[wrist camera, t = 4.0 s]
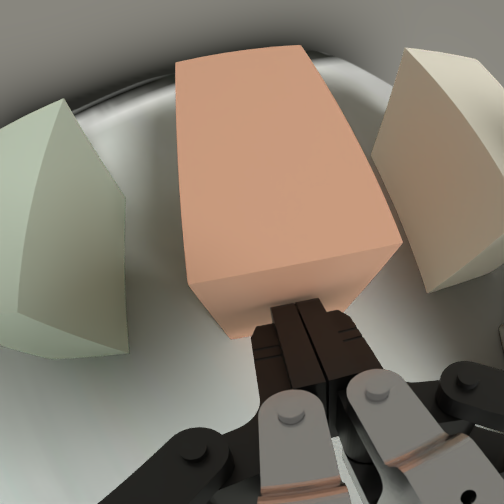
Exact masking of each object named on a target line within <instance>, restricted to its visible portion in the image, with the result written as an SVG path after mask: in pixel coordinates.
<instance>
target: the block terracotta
mask: <svg viewBox="0 0 504 504" xmlns="http://www.w3.org/2000/svg"><path fill="white" fill-rule="evenodd" d="M176 129H177V154H178V173H179V190H180V204H181V218H182V230H183V241H184V252H185V262H186V272H187V281H188V285H189V287H190V288H191V289H192V291H193V292H194V293H195V295H196V296H197V297H198V298H199V300H200V301H201V302H202V304H203V305H204V306H205V308H206V309H207V310H208V311H209V313H210V314H211V315H212V316H213V318H214V319H215V320H216V322H217V323H218V324H219V325H220V327H221V328H222V329H223V330H224V332H225V333H226V334H227V335H228V337H229V338H230V339H237V338H242V337H248V336H252V334H253V332H254V330H255V328H256V326H261V325H266V324H272V318H271V311H270V307H274V306H280V305H285V304H290V303H294V304H295V302H299V301H304V300H309V299H314V298H319V299H320V301H321V303H322V304H323V306H324V308H325V310H326V311H327V312H329V311H333V310H339V311H341V312H344V311H345V310H346V308H347V307H348V306H349V305H350V304H351V303H352V302H353V301H354V300H355V299H356V297H357V296H358V295H359V294H360V293H361V292H362V291H363V290H364V289H365V287H366V286H367V285H368V284H369V283H370V282H371V281H372V279H373V278H374V277H375V276H376V275H377V274H378V272H379V271H380V270H381V269H382V268H383V266H384V265H385V264H386V263H387V262H388V260H389V259H390V258H391V257H392V256H393V254H394V253H395V252H396V251H397V250H398V248H399V247H400V246H401V245H402V243H403V241H402V238H401V236H400V233H399V231H398V228H397V226H396V223H395V221H394V218H393V216H392V213H391V211H390V209H389V206H388V204H387V202H386V199H385V197H384V195H383V193H382V190H381V188H380V186H379V184H378V182H377V179H376V177H375V175H374V173H373V171H372V169H371V167H370V165H369V162H368V160H367V158H366V156H365V154H364V152H363V150H362V148H361V146H360V144H359V142H358V141H357V139H356V137H355V135H354V133H353V131H352V129H351V127H350V125H349V124H348V122H347V120H346V118H345V116H344V114H343V113H342V111H341V109H340V107H339V106H338V104H337V102H336V100H335V99H334V97H333V95H332V94H331V92H330V90H329V89H328V87H327V85H326V84H325V82H324V80H323V79H322V77H321V75H320V74H319V72H318V71H317V69H316V68H315V66H314V64H313V63H312V61H311V60H310V58H309V57H308V55H307V54H306V52H305V51H304V49H303V48H302V46H301V45H294V46H280V47H268V48H259V49H251V50H243V51H235V52H229V53H222V54H217V55H211V56H205V57H200V58H195V59H190V60H185V61H181V62H176Z"/></svg>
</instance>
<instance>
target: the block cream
mask: <svg viewBox="0 0 504 504" xmlns="http://www.w3.org/2000/svg"><path fill="white" fill-rule="evenodd" d="M371 157H372V159H373V161H374V163H375V166H376V168H377V170H378V172H379V174H380V176H381V178H382V180H383V182H384V184H385V187H386V189H387V191H388V193H389V195H390V198H391V200H392V202H393V204H394V207H395V209H396V211H397V214H398V216H399V219H400V221H401V223H402V226H403V228H404V231H405V233H406V236H407V238H408V241H409V244H410V246H411V249H412V251H413V254H414V257H415V260H416V262H417V265H418V268H419V271H420V274H421V277H422V280H423V283H424V286H425V289H426V292H427V293H431V292H434V291H437V290H440V289H444V288H447V287H450V286H453V285H456V284H459V283H462V282H465V281H468V280H471V279H474V278H477V277H480V276H483V275H485V274H488V273H491V272H492V271H494V270H495V269H496V268H498V267H499V266H501V265H502V264H504V88H503V87H502V86H501V85H500V84H499V82H498V81H497V80H496V79H495V78H494V77H493V76H492V75H491V74H490V73H489V72H488V71H487V70H486V69H485V67H483V65H482V64H481V63H480V62H479V61H478V60H476V59H473V58H468V57H463V56H458V55H453V54H447V53H441V52H435V51H428V50H421V49H413V48H404V52H403V56H402V59H401V63H400V66H399V69H398V73H397V76H396V80H395V83H394V86H393V89H392V93H391V96H390V99H389V102H388V105H387V108H386V112H385V115H384V118H383V121H382V124H381V127H380V130H379V133H378V135H377V138H376V141H375V144H374V147H373V150H372V153H371Z"/></svg>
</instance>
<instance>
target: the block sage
mask: <svg viewBox="0 0 504 504" xmlns="http://www.w3.org/2000/svg"><path fill="white" fill-rule="evenodd" d="M125 202H126V198H125V196H124V195H123V193H122V192H121V190H120V189H119V187H118V186H117V184H116V183H115V181H114V180H113V178H112V176H111V175H110V173H109V172H108V170H107V169H106V167H105V166H104V164H103V162H102V161H101V159H100V158H99V156H98V155H97V153H96V151H95V150H94V148H93V147H92V145H91V143H90V142H89V140H88V138H87V137H86V135H85V134H84V132H83V130H82V129H81V127H80V125H79V124H78V122H77V120H76V118H75V117H74V115H73V113H72V112H71V110H70V108H69V107H68V105H67V103H66V101H65V100H64V99H61V100H59V101H57V102H54V103H52V104H50V105H48V106H45V107H43V108H41V109H39V110H37V111H35V112H33V113H30V114H28V115H26V116H24V117H22V118H21V119H18V120H17V121H15V122H13V123H11V124H9V125H7V126H5V127H3V128H2V129H0V346H3V347H6V348H10V349H13V350H17V351H20V352H24V353H28V354H31V355H35V356H39V357H43V358H47V359H69V358H84V357H97V356H109V355H119V354H129V343H128V331H127V316H126V297H125V257H124V243H125Z"/></svg>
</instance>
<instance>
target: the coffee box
mask: <svg viewBox="0 0 504 504" xmlns="http://www.w3.org/2000/svg"><path fill="white" fill-rule="evenodd" d="M499 332H500V336H501V341H502V346H503V351H504V323H503V324H501V325H500V327H499Z"/></svg>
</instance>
